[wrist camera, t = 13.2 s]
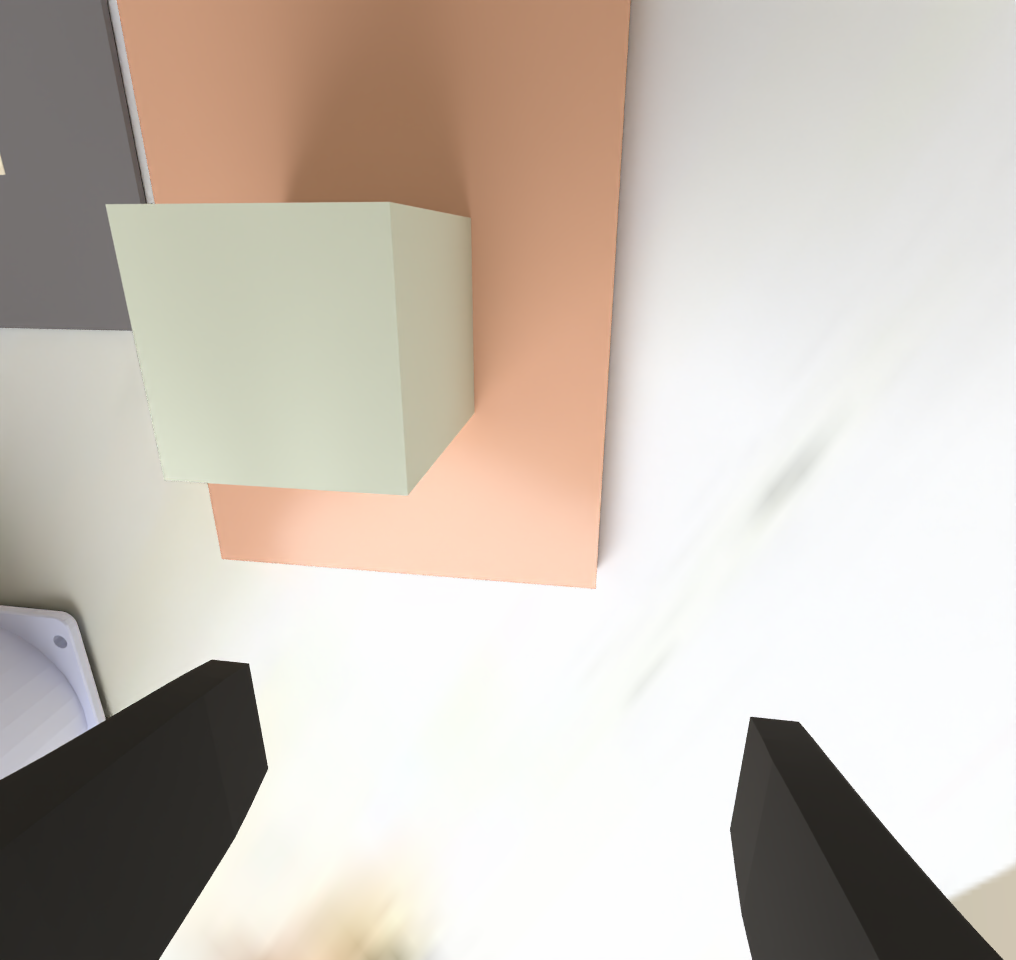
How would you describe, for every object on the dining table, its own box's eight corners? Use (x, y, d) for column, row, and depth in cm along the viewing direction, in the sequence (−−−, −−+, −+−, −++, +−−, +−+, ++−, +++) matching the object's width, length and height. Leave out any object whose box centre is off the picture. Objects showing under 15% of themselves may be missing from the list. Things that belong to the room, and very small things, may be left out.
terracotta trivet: (596, 570, 18) (595, 589, 17) (240, 543, 19) (222, 559, 18) (632, -33, 12) (633, -55, 12) (145, -2, 14) (112, -19, 13)
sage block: (474, 412, 15) (407, 496, 10) (305, 405, 16) (164, 480, 11) (471, 217, 14) (389, 201, 9) (283, 219, 14) (105, 203, 9)
